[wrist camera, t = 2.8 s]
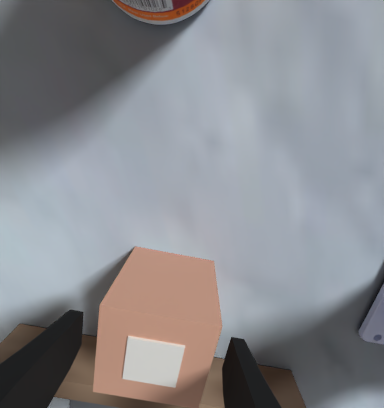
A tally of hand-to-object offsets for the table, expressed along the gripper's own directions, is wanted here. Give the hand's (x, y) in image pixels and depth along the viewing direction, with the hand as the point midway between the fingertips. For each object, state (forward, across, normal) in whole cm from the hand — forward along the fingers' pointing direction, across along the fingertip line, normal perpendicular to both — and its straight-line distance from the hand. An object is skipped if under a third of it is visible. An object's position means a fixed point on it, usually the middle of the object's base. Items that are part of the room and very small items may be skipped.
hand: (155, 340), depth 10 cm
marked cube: (+4, 0, 0) cm, 4 cm away
